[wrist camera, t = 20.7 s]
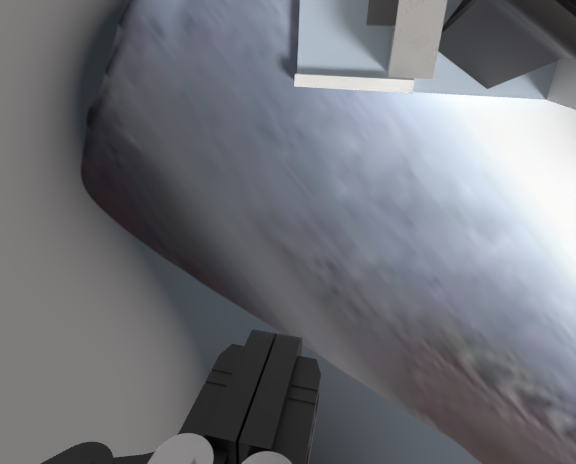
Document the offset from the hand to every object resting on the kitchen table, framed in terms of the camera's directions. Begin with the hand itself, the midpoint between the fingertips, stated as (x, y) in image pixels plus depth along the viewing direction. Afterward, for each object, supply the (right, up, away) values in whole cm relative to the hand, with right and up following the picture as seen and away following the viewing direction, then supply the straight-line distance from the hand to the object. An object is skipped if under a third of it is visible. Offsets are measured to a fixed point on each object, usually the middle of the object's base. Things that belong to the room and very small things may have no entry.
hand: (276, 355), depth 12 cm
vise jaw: (+9, +21, +19) cm, 30 cm away
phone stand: (+17, +20, +18) cm, 32 cm away
